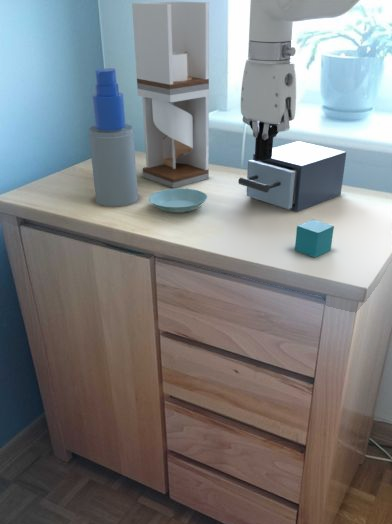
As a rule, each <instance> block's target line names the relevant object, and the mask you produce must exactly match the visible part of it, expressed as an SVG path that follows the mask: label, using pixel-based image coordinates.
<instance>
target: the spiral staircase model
mask: <svg viewBox="0 0 392 524" xmlns="http://www.w3.org/2000/svg"><path fill="white" fill-rule="evenodd" d="M131 5H132V6H131V8H132V24H133V38H134V39H133V40H134V55H135V69H136V70H135V71H136V72H135V73H136V85H137V86H136V87H137V96H138V97H141V98H142V115H143V131H144V147H145V165H146V166H145V167H142V177H143V178H145V179H148V180H150V181H153V182H156V183H159V184H161V185H164V186H166V187H169V188H171V189H176V188H179V187H182V186H187V185H190V184H192V183H197V182H200V181H203V180H208V179H209V178H210V176H209V173H210V172H209V171H210V167H209V166H210V163H209V162H210V161H209V160H210V152H209V151H210V128H209V127H210V126H209V125H210V2H207V1H204V2H202V1H180V0H179V1H178V0H177V1H175V0H172V1H169V0H167V1H149V2H147V1H146V2H145V1H144V2H132V3H131Z"/></svg>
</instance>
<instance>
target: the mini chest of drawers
mask: <svg viewBox="0 0 392 524" xmlns="http://www.w3.org/2000/svg"><path fill="white" fill-rule="evenodd" d="M346 158H347V151H344V150H341V149H335V148H332V147H326V146H323V145H318V144H314V143H308V142H304V141H300V140H298V141H297V140H296V141H293V142H291V143H285V144H282V145H279V146H276V147H273V148H272V157H271V158H270V159H267V160H265V161H269V162H273V163H277V164H280V165H284V166H288V167H292V168H295V169H298V176H297V187H296V198H295V204H292V208H290V209H289V210H290V211H294V212H296V213H298V212H301V211H303V210H306V209H308V208H311V207H313V206H317V205H319V204H322V203H324V202H327V201H329V200H332V199H334V198H337V197H340V196H341V195H342V188H343V180H344V173H345V166H346ZM252 160H255V161H259V160H256V159H255V152H254V153H252Z"/></svg>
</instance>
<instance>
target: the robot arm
mask: <svg viewBox="0 0 392 524" xmlns="http://www.w3.org/2000/svg"><path fill="white" fill-rule="evenodd" d="M359 2H360V0H250V5H249V7H250V8H249V28H248V29H249V30H248V52H247V53H248V54H247V59H246V60H245V65H244V69H243V74H242V75H243V76H242V81H241V89H240V114H241V115H242V122H243V123H244V124H246V125H247V126H249V127H250V129H251V130H252V137H254V138H255V144H254V145H255V146H254V153H255V159H256V160H260V161H264V160H267V159H270V158H271V157H272V148H274V146H273V145H274V138H276V137H277V135H278V134H279V133H280V132H281V133H282V132H286V131H287V132H288V131H289V130H290V122H291V121H293V120H294V119H295V116H296V108H297V73H296V64H295V62H294V61H291V60H292V57H293V56H294V57H295V54H296V48H295V47H294V46H293V39H294V26H295V23H307V22H312V21H326V20H327V21H328V20H336V19H338V18H340V17H342V16H343V15H345V14H347V13H348V12H349V11H351V9H353V8H354V6H356V5H357V4H358V3H359Z"/></svg>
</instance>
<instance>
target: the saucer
mask: <svg viewBox="0 0 392 524" xmlns="http://www.w3.org/2000/svg"><path fill="white" fill-rule="evenodd" d="M207 199H208V195H207V194H206V193H205V192H203V191H200V190H198V189H192V188H168V189H163V190H159V191H156V192H154V193H152V194H150V195H149V197H148V202H150V203H151V204H152V205H153V206H154V207H156V208H157V209H159V210H160V211H163V212H166V213H170V214H185V213H189V212H191V211H194V210H196V209H198V208H199V207H201V206H202V205H203V204H205V202H206V201H207Z"/></svg>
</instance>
